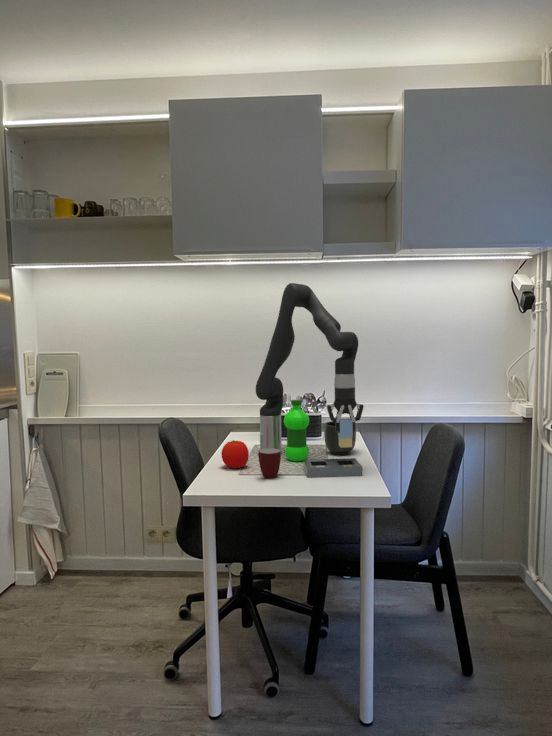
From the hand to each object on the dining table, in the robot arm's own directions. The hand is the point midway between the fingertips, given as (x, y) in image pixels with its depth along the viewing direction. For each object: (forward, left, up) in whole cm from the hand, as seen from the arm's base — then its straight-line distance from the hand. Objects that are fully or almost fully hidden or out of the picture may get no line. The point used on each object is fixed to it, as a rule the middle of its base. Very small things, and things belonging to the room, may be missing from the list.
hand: (345, 431), depth 184 cm
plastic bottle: (-16, +20, -16) cm, 30 cm away
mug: (-28, -2, -16) cm, 32 cm away
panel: (-5, 0, -16) cm, 16 cm away
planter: (+4, +31, -16) cm, 35 cm away
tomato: (-41, +13, -16) cm, 46 cm away
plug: (0, 0, -5) cm, 5 cm away
